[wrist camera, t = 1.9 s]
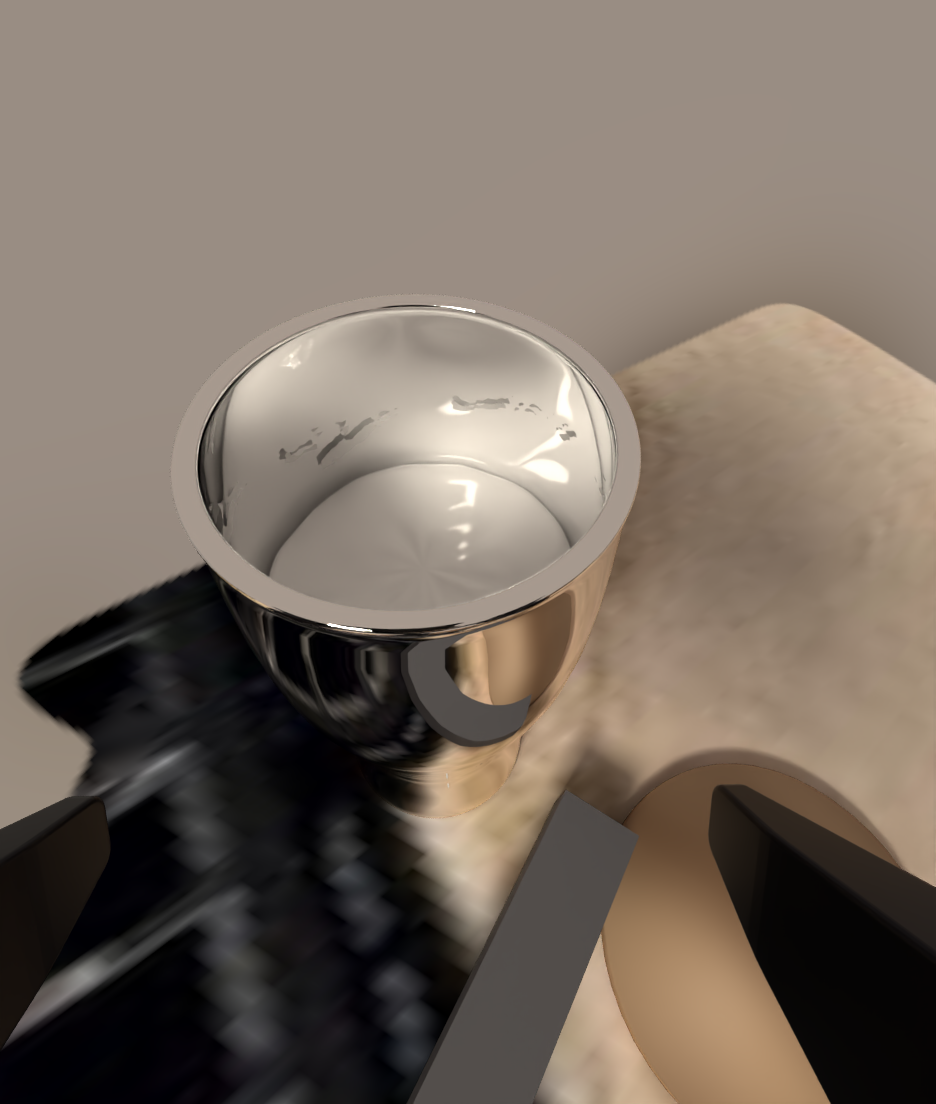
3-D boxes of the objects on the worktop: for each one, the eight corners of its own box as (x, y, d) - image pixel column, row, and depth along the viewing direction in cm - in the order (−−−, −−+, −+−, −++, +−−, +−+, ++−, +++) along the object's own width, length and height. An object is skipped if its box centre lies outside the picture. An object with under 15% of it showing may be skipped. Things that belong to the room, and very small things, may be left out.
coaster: (916, 1291, 13) (934, 1305, 13) (544, 1006, 16) (547, 1009, 15) (959, 877, 18) (973, 876, 17) (666, 714, 21) (672, 709, 20)
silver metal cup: (301, 753, 20) (37, 467, 7) (419, 610, 23) (376, 243, 10) (462, 881, 18) (478, 787, 5) (566, 704, 21) (731, 385, 8)
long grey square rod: (409, 1350, 13) (401, 1430, 11) (327, 1264, 13) (304, 1326, 11) (619, 844, 18) (639, 836, 16) (554, 803, 19) (566, 789, 17)
